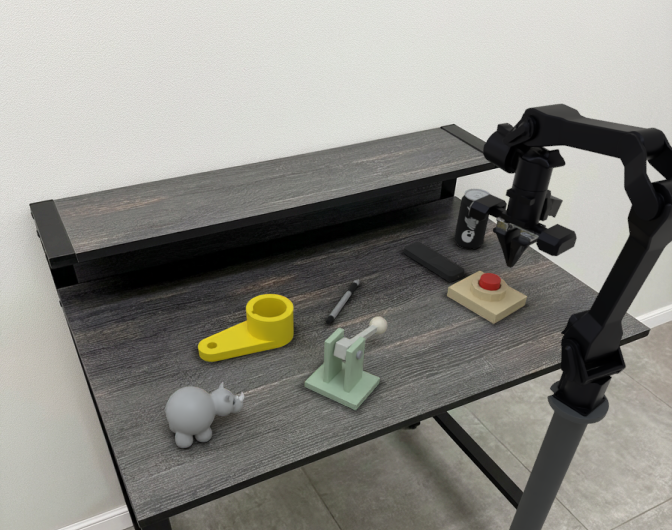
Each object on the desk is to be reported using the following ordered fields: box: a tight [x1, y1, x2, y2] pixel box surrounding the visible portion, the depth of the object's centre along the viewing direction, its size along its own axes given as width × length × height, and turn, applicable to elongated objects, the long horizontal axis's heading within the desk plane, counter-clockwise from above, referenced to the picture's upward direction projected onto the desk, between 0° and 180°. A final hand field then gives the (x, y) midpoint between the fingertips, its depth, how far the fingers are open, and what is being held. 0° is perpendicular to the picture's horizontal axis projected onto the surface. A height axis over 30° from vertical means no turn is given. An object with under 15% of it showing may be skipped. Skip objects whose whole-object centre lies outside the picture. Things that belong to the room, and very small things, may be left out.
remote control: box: [402, 241, 466, 283], centre depth 136 cm, size 5×2×15 cm
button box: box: [446, 270, 528, 325], centre depth 125 cm, size 12×10×4 cm
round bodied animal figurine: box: [164, 381, 245, 449], centre depth 94 cm, size 7×12×8 cm, turn 114°
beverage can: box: [453, 188, 491, 250], centre depth 139 cm, size 7×7×12 cm
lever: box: [334, 316, 388, 361], centre depth 105 cm, size 15×3×3 cm, turn 148°
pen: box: [325, 278, 360, 325], centre depth 123 cm, size 1×16×1 cm, turn 158°
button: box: [479, 272, 502, 291], centre depth 123 cm, size 4×4×2 cm
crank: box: [197, 293, 295, 363], centre depth 111 cm, size 18×8×6 cm, turn 121°
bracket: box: [304, 327, 381, 411], centre depth 103 cm, size 8×10×10 cm
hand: (510, 266), depth 113 cm, fingers closed
